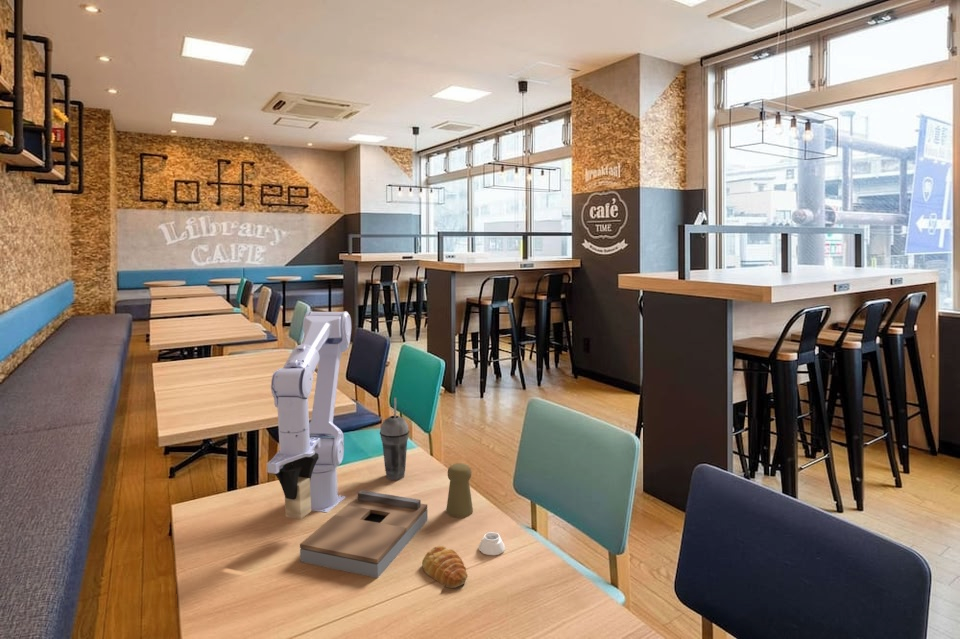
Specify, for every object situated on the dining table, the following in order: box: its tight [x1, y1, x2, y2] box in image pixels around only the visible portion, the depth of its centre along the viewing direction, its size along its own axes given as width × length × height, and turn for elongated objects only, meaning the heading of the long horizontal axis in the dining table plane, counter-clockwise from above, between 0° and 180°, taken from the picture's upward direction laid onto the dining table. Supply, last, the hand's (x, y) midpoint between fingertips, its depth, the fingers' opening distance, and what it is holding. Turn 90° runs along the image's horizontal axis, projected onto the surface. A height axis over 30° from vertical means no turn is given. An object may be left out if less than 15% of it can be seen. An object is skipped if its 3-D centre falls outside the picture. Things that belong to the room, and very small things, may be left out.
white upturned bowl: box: [478, 531, 506, 556], centre depth 115 cm, size 5×3×5 cm
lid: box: [299, 489, 428, 564], centre depth 117 cm, size 16×22×2 cm
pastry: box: [421, 545, 468, 589], centre depth 107 cm, size 9×7×4 cm
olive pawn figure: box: [445, 462, 474, 519], centre depth 129 cm, size 6×6×11 cm
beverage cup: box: [379, 397, 410, 481], centre depth 147 cm, size 7×7×20 cm
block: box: [284, 477, 312, 520], centre depth 118 cm, size 4×4×7 cm
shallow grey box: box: [299, 508, 428, 579], centre depth 118 cm, size 16×22×3 cm
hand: (297, 493), depth 118 cm, fingers closed on block, 3 cm apart
